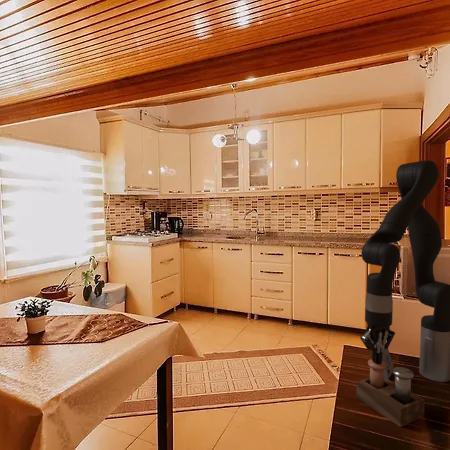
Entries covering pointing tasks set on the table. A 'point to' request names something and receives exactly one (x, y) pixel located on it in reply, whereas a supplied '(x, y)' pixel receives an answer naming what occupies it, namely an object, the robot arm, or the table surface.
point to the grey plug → (402, 383)
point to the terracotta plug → (377, 374)
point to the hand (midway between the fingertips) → (377, 363)
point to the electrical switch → (388, 361)
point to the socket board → (390, 402)
